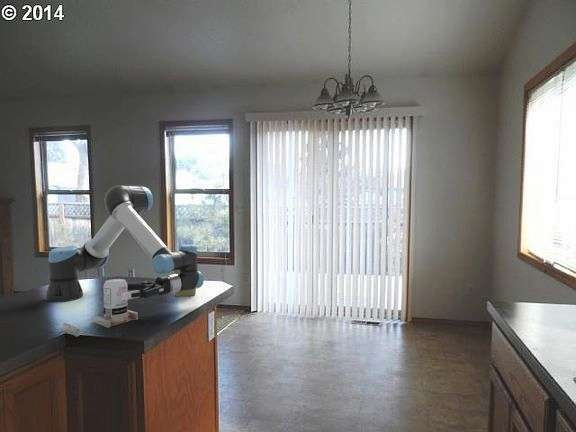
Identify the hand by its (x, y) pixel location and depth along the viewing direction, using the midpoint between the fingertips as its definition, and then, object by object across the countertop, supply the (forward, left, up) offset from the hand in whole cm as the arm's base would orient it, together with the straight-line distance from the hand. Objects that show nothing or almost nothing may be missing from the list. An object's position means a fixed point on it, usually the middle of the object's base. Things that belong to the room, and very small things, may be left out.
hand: (114, 293), depth 147 cm
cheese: (-17, +46, -11) cm, 51 cm away
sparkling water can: (0, +1, -11) cm, 11 cm away
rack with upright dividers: (0, -5, -11) cm, 12 cm away
